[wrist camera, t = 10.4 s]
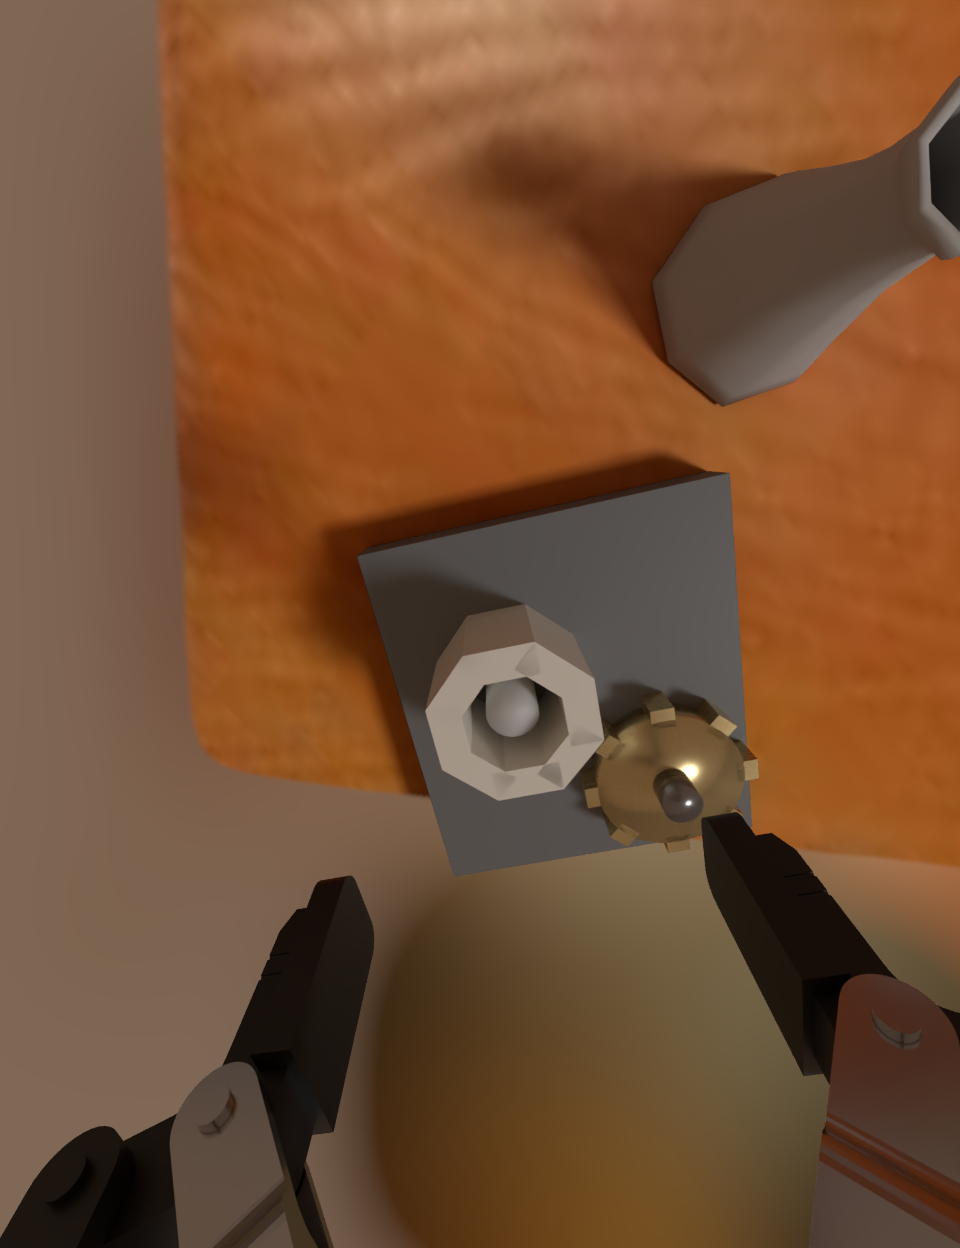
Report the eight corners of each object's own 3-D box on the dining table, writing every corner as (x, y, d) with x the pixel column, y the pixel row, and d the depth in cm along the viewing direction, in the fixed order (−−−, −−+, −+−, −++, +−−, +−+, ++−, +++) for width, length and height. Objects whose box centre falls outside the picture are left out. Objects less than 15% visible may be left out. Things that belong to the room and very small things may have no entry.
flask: (616, 279, 19) (744, 109, 10) (792, 133, 18) (1144, -236, 8) (710, 440, 21) (895, 429, 11) (876, 320, 20) (1245, 194, 10)
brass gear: (567, 709, 23) (579, 746, 20) (736, 677, 22) (773, 710, 19) (592, 841, 25) (605, 890, 22) (745, 815, 24) (779, 862, 22)
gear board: (367, 547, 22) (332, 575, 17) (708, 471, 21) (779, 476, 16) (456, 847, 28) (449, 938, 23) (732, 800, 27) (793, 884, 21)
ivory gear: (427, 624, 21) (412, 666, 17) (566, 595, 21) (586, 631, 17) (459, 744, 23) (453, 808, 19) (587, 719, 23) (610, 780, 19)
